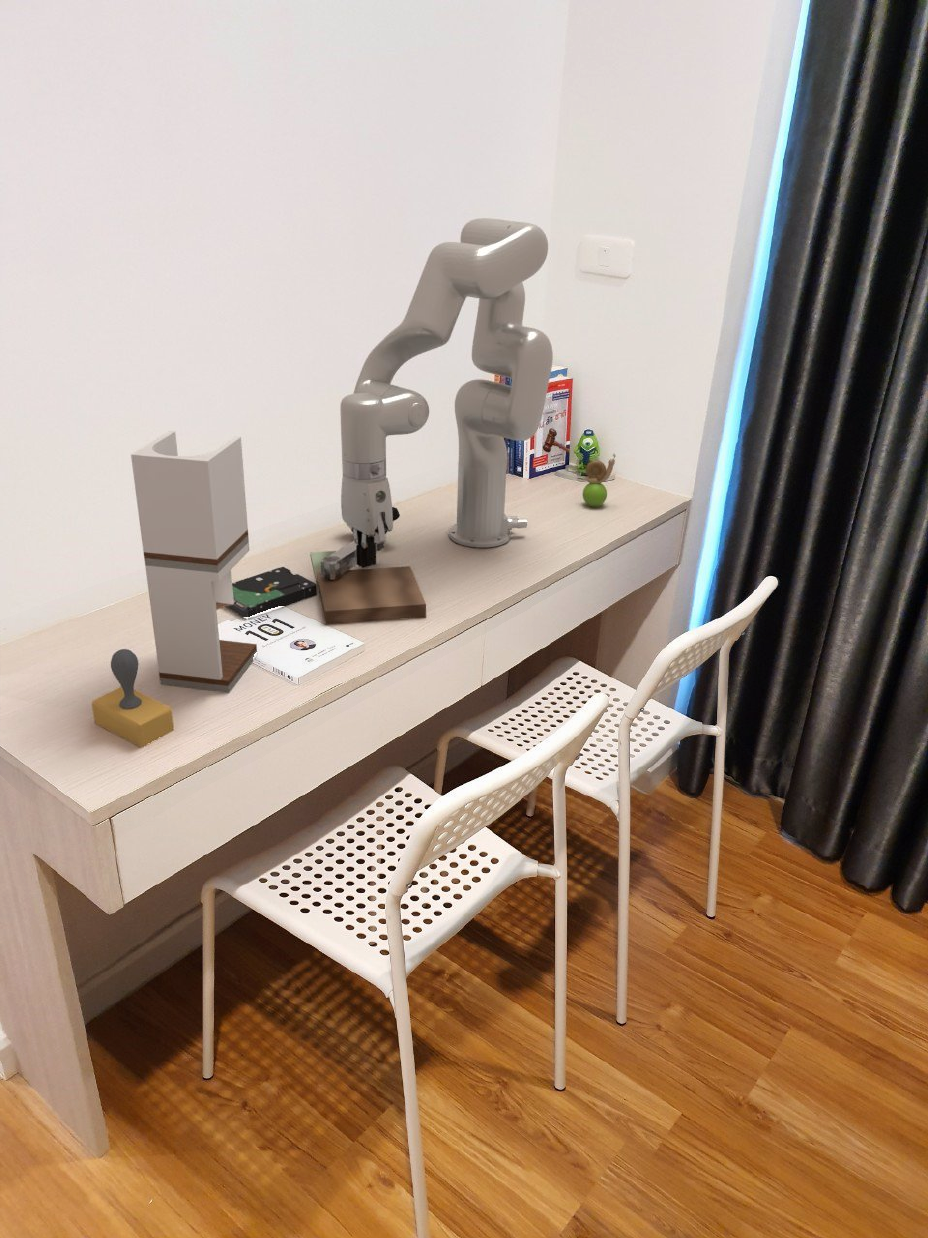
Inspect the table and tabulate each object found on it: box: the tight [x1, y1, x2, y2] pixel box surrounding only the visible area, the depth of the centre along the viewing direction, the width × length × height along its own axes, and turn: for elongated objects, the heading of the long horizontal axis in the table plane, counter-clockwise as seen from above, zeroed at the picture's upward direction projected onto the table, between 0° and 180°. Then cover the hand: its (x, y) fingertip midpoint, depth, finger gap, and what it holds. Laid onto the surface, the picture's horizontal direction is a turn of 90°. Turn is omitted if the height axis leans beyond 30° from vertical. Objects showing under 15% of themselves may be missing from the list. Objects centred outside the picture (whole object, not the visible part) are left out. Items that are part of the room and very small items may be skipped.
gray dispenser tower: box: [130, 430, 258, 694], centre depth 140 cm, size 11×11×35 cm
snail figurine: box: [582, 453, 616, 507], centre depth 214 cm, size 5×6×12 cm
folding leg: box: [321, 540, 385, 580], centre depth 177 cm, size 17×3×3 cm, turn 154°
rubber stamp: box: [91, 648, 175, 748], centre depth 131 cm, size 10×6×12 cm, turn 55°
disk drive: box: [225, 566, 318, 618], centre depth 170 cm, size 10×3×15 cm
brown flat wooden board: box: [310, 550, 427, 625], centre depth 176 cm, size 17×30×2 cm, turn 13°
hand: (366, 564), depth 176 cm, fingers closed
